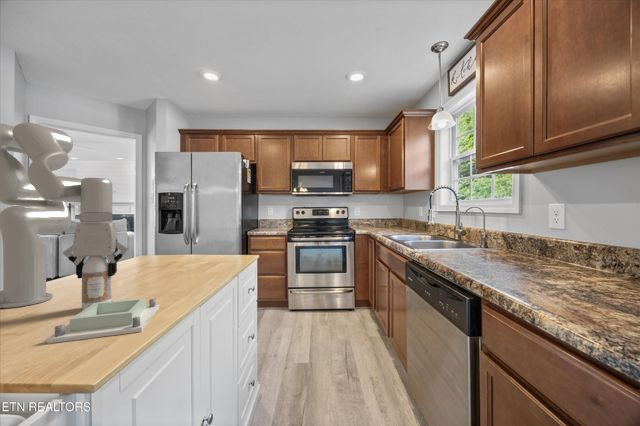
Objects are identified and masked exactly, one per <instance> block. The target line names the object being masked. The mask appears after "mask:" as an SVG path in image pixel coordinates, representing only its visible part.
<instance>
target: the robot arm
mask: <svg viewBox="0 0 640 426" xmlns="http://www.w3.org/2000/svg"><path fill="white" fill-rule="evenodd" d="M73 142H74V141H73V139H72V136H70V135H69V134H68V133H67V132H65V131H64V130H60V129H57V128H53V127H49V126H45V125H41V124H38V123H34V122H21V123H18V124H15V125H9V124H5V123H0V203H1V204H4V205H7V206H8V205H9V207H6V208H4V209H3V210H1V211H0V233H1V239H2V256H3V257H2V268H3V269H2V270H3V271H2V277H3V279H2V280H3V281H2V287H3V288H2V289H3V290H0V309H8V308H9V309H11V308H18V307H19V308H20V307H25V306H31V305H36V304H39V303H43V302H47V301H49V300H51V299H53V298H54V297H53V296H54V295H53V293H51V292H47V248H46V247H47V246H46V244H45V243H44V241H43V240H42V239H41V238H40V236H39V235H41V234H57V233H64V232H66V231H68V229H70V227H71V225H72V214H71V212H70V209H69V207H68V204H67V203H68V202H69V203H80V212H79V214H75V216H74V219H75V220H79V222H77V223H76V226H75V229H74V233H73V234H74V235H73V239H72V245H71V246H70V247H68V248H67V249H65V250H64V251H63V252H62V254H63V255H64V256H65V257H67V258H68V260H69V261H70V262H72V263H73V265H74V266H75V275H76V276H77V279H78V280H79V279H82V268H83V265H84V263H85V260H87V258H88V257H90V256H105V257H106V258H107V259H108V261H109V262H110V263H109V265H108V275H109V276H111V277H113V276H115V275H116V273H117V272H118V266H117V265H118V262H119V261H120V260H121V259H122V258H123V257H124V256H125V255H126V254H127V253H128V252H129V248H128V247H126V246H125V245H123V244H122V243H120V241H119V238H118V231H117V227H116V222H113V182H112V181H111V180H110V179H108V178H104V177H102V178H101V177H84V178H78V177H69V176H61V175H56V174H55V173H54V172H53V171H57V170H60V169H62V168H64V167H65V166H66V165H67V164H68V163H69V155H68V154H69V153H70V152H71V151H72V149H73V146H74V143H73ZM9 152H13V153H20V154H26V155H27V156H28V158H29V159H30V160H31V163H30V165H29V167H28V172H27V171H26V170H25V167H24V166H23V163H21V161H20V160H18V159H17V158H16V157H15V156H14V155H12V154H11V153H9ZM26 172H27V173H26ZM119 250H120V252H119ZM118 252H119V253H118ZM116 253H118V254H117V255H116Z"/></svg>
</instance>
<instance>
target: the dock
mask: <svg viewBox="0 0 640 426" xmlns="http://www.w3.org/2000/svg"><path fill="white" fill-rule="evenodd" d="M159 309H160V304H157V303H156V298H151V299H149V301H148V305H147V298H146V297H144V298H134V299H131V298H130V299H123V300H121V299H120V300H111V301H109V302H98V303H94V304H92V305H88V306H87V308H86V309H85V310H82V311H80V312H79V313H77V314H76V315H74V316H72V317H71V318H69V324H67V325H65V324H59V325H56V326H55V327H54V334H52V335H51V336H50V337H48V338H47V339H46V341H47V344H55V343H62V342H69V341H71V342H72V341H79V340H86V339H94V338H103V337H111V336H118V335H124V334H133V333H141V332H143V331H144V329H145V328H146V327H147V326H148V324H149V322H150V321H151V319H152V318H153V317H154V315H155V314H156V313H157V311H158V310H159Z"/></svg>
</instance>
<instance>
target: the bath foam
mask: <svg viewBox="0 0 640 426" xmlns="http://www.w3.org/2000/svg"><path fill="white" fill-rule="evenodd" d="M85 260H86V261H84V265H83V268H82V278H81V309H82V311H83V310H85V309H86V308H87V306H88V305H92V304H94V303H98V302H109V301H112V276H109V275H108V265H109V263H110V260H109V259H108V257H107V256H88V257H87V258H86V259H85Z"/></svg>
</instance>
